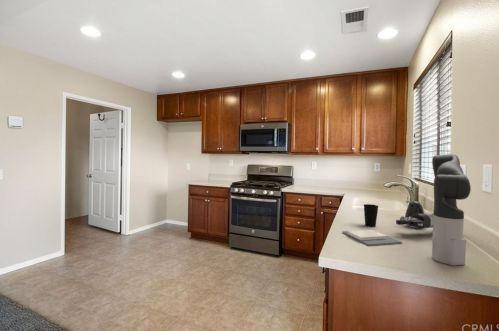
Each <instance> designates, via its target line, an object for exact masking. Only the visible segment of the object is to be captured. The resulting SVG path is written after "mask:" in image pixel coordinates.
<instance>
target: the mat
mask: <svg viewBox="0 0 499 331" xmlns="http://www.w3.org/2000/svg"><path fill="white" fill-rule="evenodd" d="M362 230H363V229H362ZM362 230H358V231H362ZM348 231H349V230H345V231H342V232H341V233H342V234H343V235H346V236H347V237H349V238H352V239H354V240H356V241H357V242H360V243H361V244H363V243H364V245H365V244H366V246H367V247H373V246H375V247H376V246H386V245H387V246H388V245H401V244H403V241H400V240H399V239H396V238H394V237H391V236H389V235H386V236H387V239H374V240H359V239H357V238H355V237H353V236H351V235H349V234H348Z"/></svg>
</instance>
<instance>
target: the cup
mask: <svg viewBox="0 0 499 331" xmlns="http://www.w3.org/2000/svg"><path fill="white" fill-rule="evenodd" d="M363 211H364V212H363V214H364V226H365V225H366V226H365V227H368V226H369V228H376V226H377V219H378V211H379V205H378V204H373V203H372V204H370V203H365V204H363Z"/></svg>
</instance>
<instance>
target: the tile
mask: <svg viewBox="0 0 499 331" xmlns="http://www.w3.org/2000/svg"><path fill="white" fill-rule="evenodd" d="M347 231H348V234H349V235H351V236H353V237H355V238H357V239H359V240H374V239H387V236H388V235H387V234H383V233H381V232H378V231H376V230H374V229H362V231H359V230H347Z"/></svg>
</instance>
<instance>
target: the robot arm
mask: <svg viewBox="0 0 499 331" xmlns="http://www.w3.org/2000/svg"><path fill="white" fill-rule="evenodd" d="M431 160H432V161H431V162H432V171H433V174H434V179H433V213H430V212H429V213H428V212H427V213H425V212H424V214H415V215H414V216H413V217H409V218H405V216H401V217H399V219H396V221H395V224H396V225H398V226H402V225H405V226H408V227H409V226H415V227H416V228H415V229H431V228H432V244H431V246H432V248H431V259H433V260H434V261H436V262H438V263H442V264H444V265H450V266H451V267H453V266H462V265H464V266H465V264H466V251H467V250H466V249H467V248H466V247H467V246H466V244H467V240H466V239H465V238H464V226H465V225H464V222H465V218H464V217H465V211H463V210H462V209H461V208H458V206H457V201H459V200H460V201H461V200H465V199H468V197H469V196H470V194H471V191H472V189H471V188H472V187H471V183H470V179H469V178H468V176H466V174H465V173H464V171H463V168H462V166H461V162H460V158H459V157H458V155H457V154H455V153H454V154H453V153H447V154H438V155H437V154H435V155H434V156H433V157H432V159H431Z"/></svg>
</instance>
